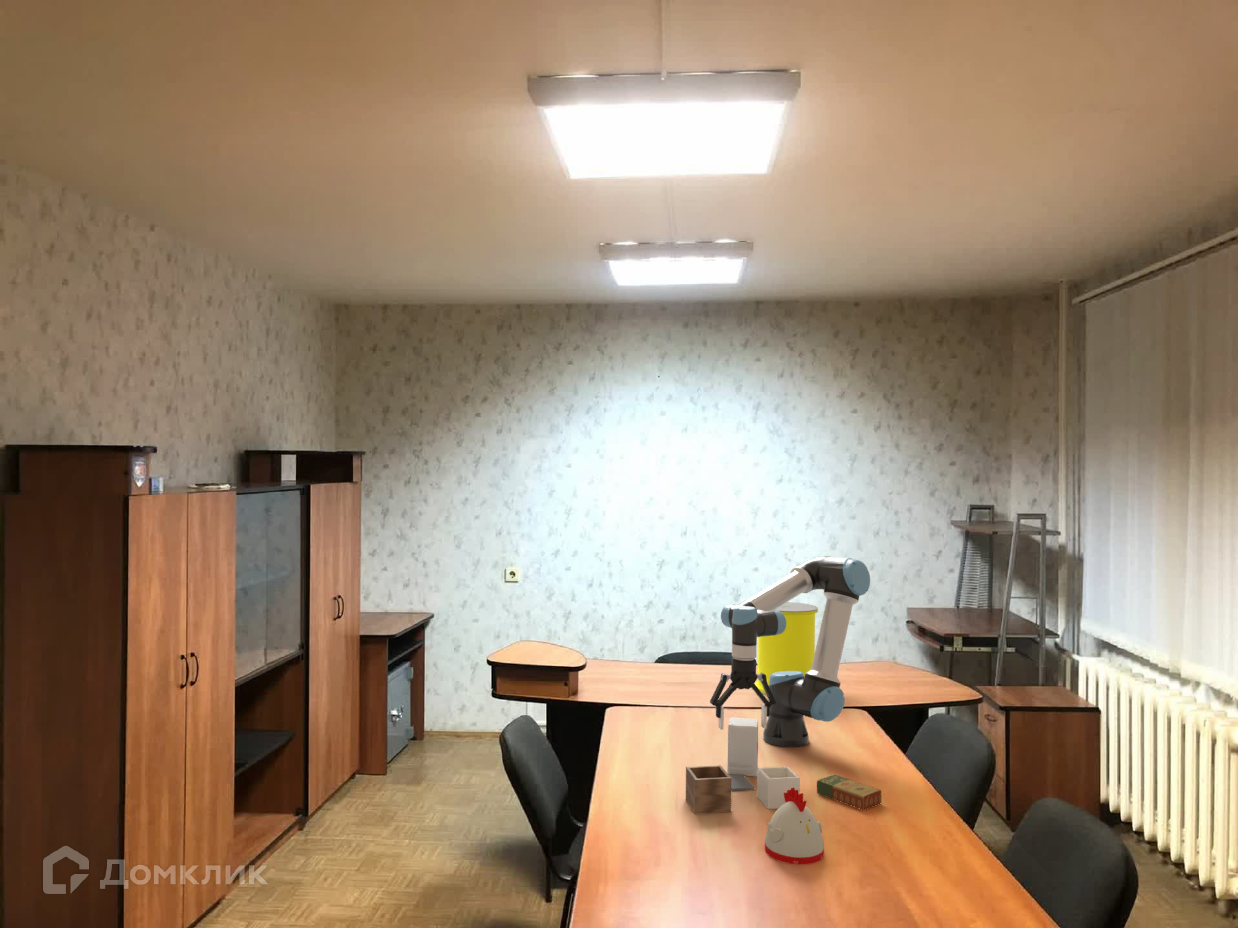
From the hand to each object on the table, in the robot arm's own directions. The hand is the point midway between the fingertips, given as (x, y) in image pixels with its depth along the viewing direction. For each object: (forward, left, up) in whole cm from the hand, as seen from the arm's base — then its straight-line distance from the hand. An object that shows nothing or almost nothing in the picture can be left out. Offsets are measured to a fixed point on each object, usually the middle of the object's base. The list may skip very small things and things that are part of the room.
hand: (742, 727), depth 259 cm
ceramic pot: (-2, +25, -13) cm, 28 cm away
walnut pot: (+18, +25, -13) cm, 33 cm away
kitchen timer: (+5, +55, -13) cm, 57 cm away
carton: (-23, +25, -14) cm, 37 cm away
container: (-49, -93, -13) cm, 106 cm away
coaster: (+7, +10, -13) cm, 18 cm away
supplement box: (0, 0, -13) cm, 13 cm away
